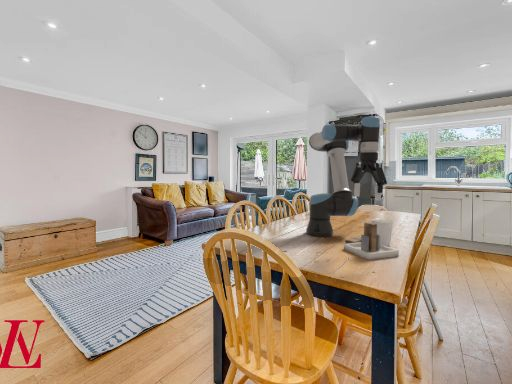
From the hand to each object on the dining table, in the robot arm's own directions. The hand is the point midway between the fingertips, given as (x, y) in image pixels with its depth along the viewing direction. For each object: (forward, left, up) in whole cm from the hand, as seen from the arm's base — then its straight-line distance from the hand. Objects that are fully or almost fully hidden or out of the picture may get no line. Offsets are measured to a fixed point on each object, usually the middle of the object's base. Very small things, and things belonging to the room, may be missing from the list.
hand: (366, 198), depth 121 cm
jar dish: (+5, -2, -24) cm, 25 cm away
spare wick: (-10, +3, -24) cm, 26 cm away
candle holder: (-5, +14, -24) cm, 28 cm away
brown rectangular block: (+5, -2, -23) cm, 23 cm away
